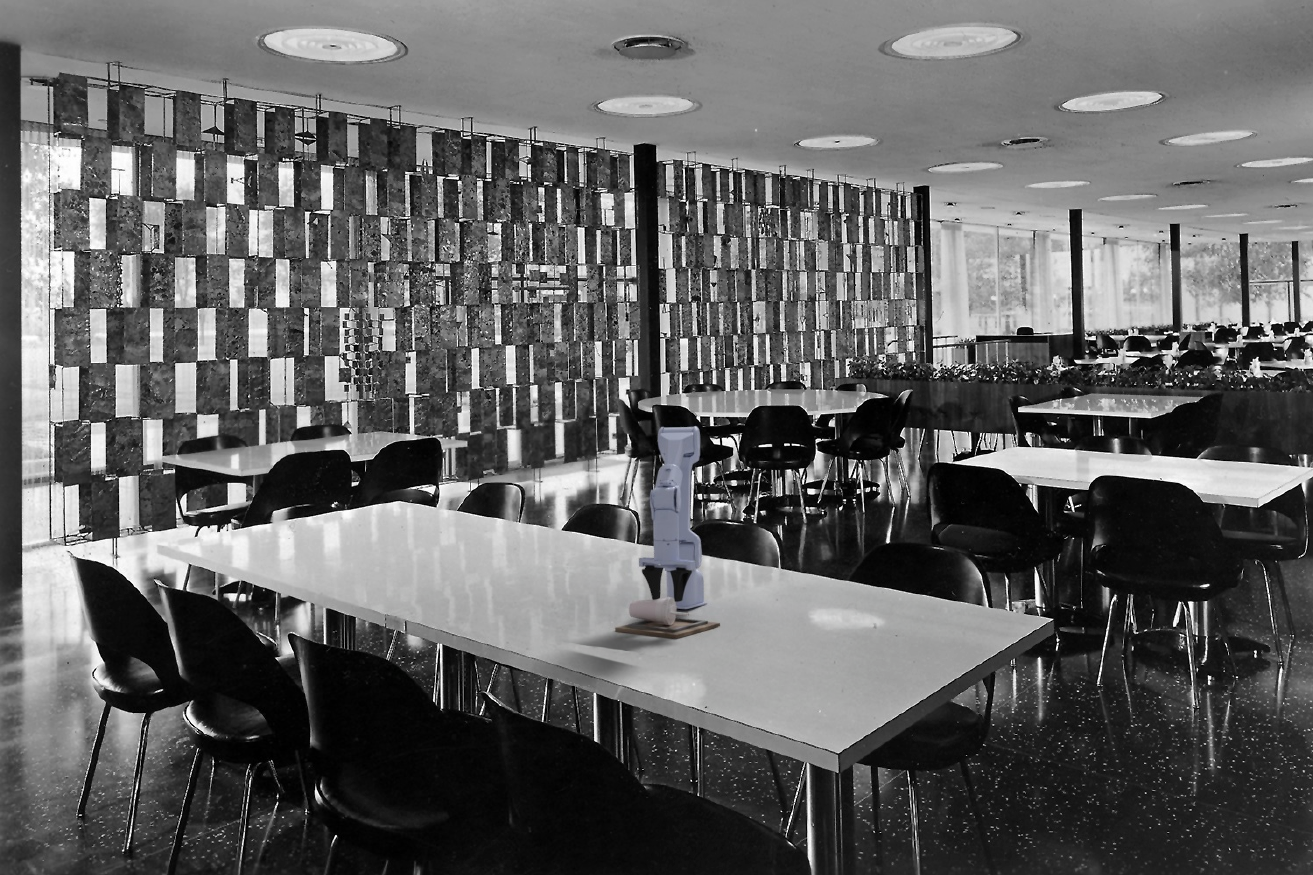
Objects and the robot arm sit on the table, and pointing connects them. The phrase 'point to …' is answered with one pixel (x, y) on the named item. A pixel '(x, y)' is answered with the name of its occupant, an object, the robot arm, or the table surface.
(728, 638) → the table surface
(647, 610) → the smoothie
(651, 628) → the holder
